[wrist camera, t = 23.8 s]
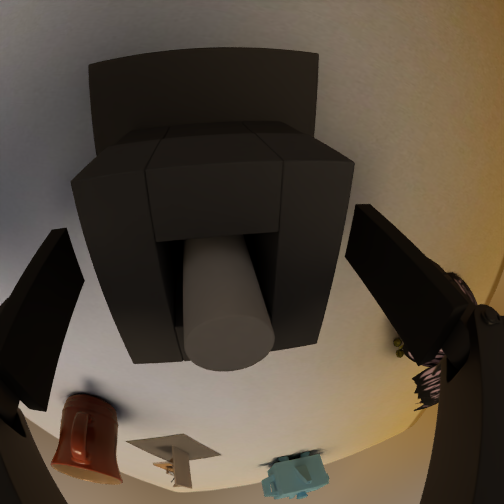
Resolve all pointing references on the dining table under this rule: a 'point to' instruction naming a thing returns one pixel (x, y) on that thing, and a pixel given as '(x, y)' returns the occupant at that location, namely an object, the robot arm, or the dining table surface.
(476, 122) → the dining table surface
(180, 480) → the architectural model
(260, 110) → the base pad
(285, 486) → the teapot
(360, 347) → the dining table surface
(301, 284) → the grey square-holed block
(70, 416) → the mug
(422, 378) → the decorative flower
